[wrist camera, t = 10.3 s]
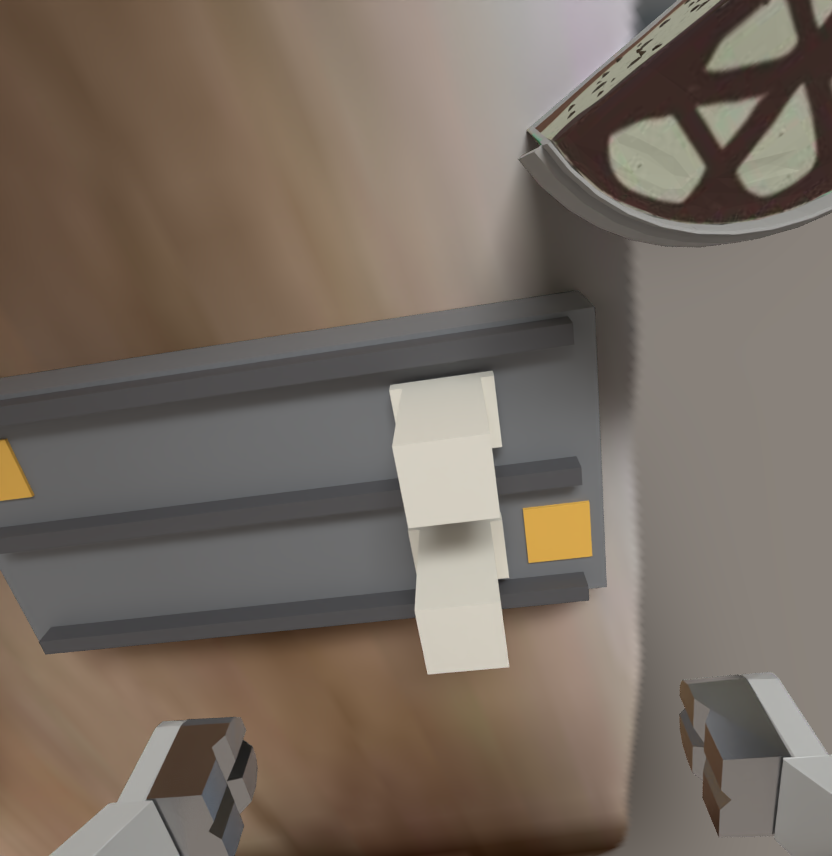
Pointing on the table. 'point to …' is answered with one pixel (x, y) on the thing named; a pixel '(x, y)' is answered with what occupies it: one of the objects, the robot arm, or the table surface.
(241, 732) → the robot arm
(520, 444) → the switch board
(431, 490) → the tab
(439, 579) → the tab
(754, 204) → the food container
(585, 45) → the table surface
